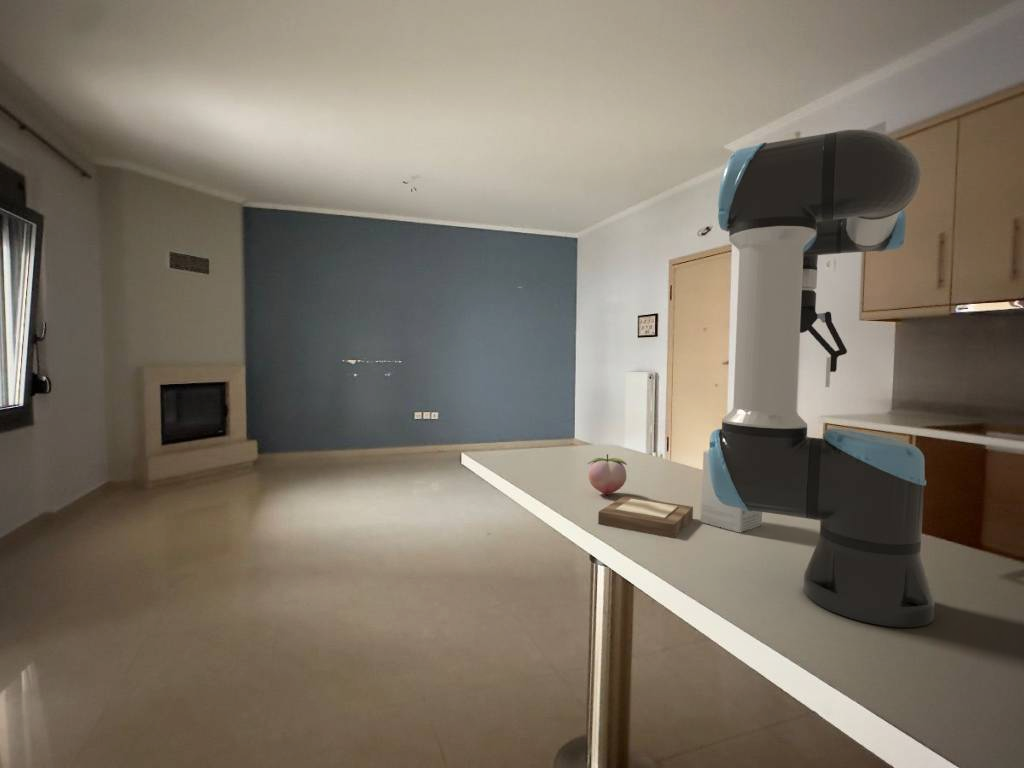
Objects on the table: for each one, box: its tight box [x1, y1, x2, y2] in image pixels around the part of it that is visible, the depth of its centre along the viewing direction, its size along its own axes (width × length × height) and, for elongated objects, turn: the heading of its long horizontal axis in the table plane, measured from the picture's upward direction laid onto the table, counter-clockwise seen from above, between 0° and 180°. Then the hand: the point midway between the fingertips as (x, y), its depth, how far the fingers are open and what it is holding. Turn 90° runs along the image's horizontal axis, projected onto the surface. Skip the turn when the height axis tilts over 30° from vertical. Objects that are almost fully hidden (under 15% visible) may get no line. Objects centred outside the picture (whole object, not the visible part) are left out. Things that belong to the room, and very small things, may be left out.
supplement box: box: [699, 449, 763, 534], centre depth 111 cm, size 9×9×15 cm
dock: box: [597, 495, 694, 539], centre depth 112 cm, size 15×15×3 cm
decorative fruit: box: [587, 454, 628, 496], centre depth 133 cm, size 9×8×10 cm
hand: (792, 385), depth 123 cm, fingers open, 13 cm apart
